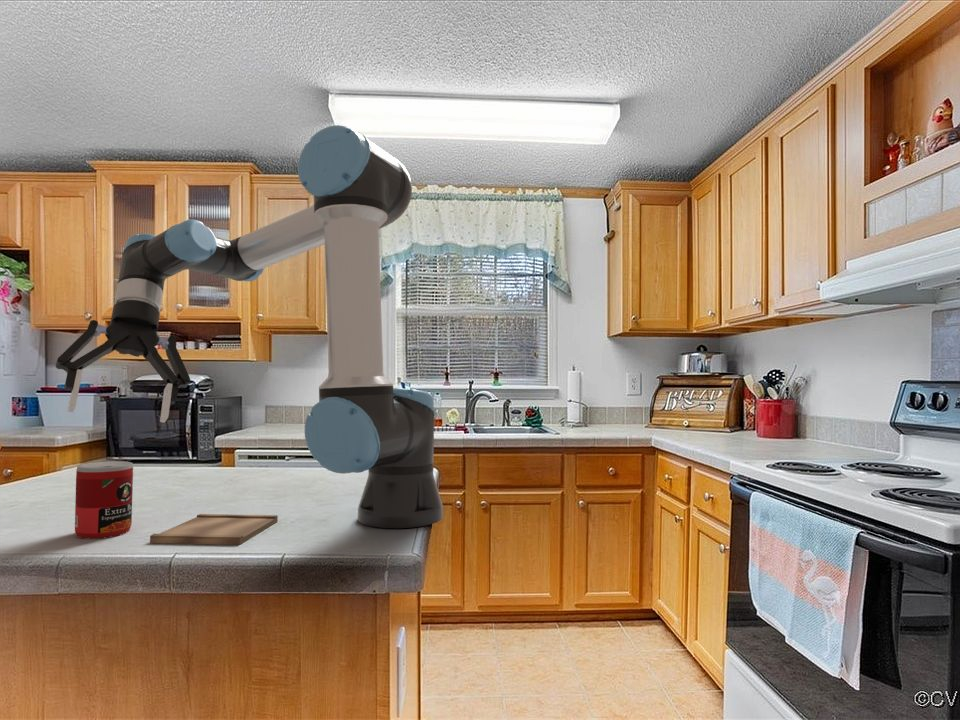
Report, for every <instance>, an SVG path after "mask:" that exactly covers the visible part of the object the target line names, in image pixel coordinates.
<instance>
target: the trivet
mask: <svg viewBox="0 0 960 720" xmlns="http://www.w3.org/2000/svg"><path fill="white" fill-rule="evenodd" d="M278 517H279V516H278V515H277V514H276V515H275V514H272V515H271V514H270V515H269V514H267V515H266V514H224V513H223V514H222V513H221V514H219V513H217V514H215V513H198V514H197V515H196V517H194V518H191V519H189V520H187V521H185V522H182V523H180V524H178V525H176V526H173V527H171V528H169V529H166V530H164V531H162V532H160V533H153V534H151V535H150V536H149V543H150V544H184V545H187V544H189V545H191V544H192V543H193V544H192V545H194V544H195V545H227V544H230V545H231V544H232V545H231V546H234V545H239V546H240V545H242V544H243V542H244V543H245V542H247V541H249V540H250V539H252V538H253V537H256V536H257V535H258V534H260V533H262V532H263V531H265V530H266V529H268V528H270V527H271V526H273V525H275V524H276V523H278V519H279V518H278ZM269 526H270V527H269ZM264 529H265V530H264ZM261 531H262V532H261ZM256 534H257V535H256Z"/></svg>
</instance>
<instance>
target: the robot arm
mask: <svg viewBox="0 0 960 720" xmlns="http://www.w3.org/2000/svg"><path fill="white" fill-rule="evenodd" d="M297 175H298V179H299V182H300V184H301V185H302V186H303V187H304V189H305V191H306V192H307V193H308V194H309V195H310V194H311V196H313V205H311V206H310V205H309V207H306V208H303V209H302V210H299V211H297V212H294V213H292V214H290V215H288V216H285V217H283V218H281V219H279V220H276V221H274V222H272V223H269V224H266V225H265V226H262V227H260V228H258V229H255V230H254V231H253V230H252V231H251V232H249V233H246V234H243V235H241V236H239V237H236V238H234V239H231V240H227V239H224V238H221V237H217V236H215V234H214V232H213V231H212V230H211V228H210V227H208V226H206V225H204V223H203V222H202V221H200V220H197V219H187V220H184V221H182V222H180V223H177V224H174V225H172V226H170V227H169V228H168V229H166V230H164V231H163V232H161V233H159V234H157V235H155V234H150V233H141V234H138V233H136V234H133V235H131V236H129V238H128V239H127V240H126V243H125V246H124V248H123V251H122V254H121V263H120V269H119V275H118V281H117V287H116V291H115V297H114V302H113V303H114V305H113V307H112V312H111V318H110V323H109V325H108V326H105V325H103V324H99V322H98V321H97V320H95V319H92V320H90V321H89V323H88V327H87V329H86V330H85V331H84V332H83V333H82V334H81V335H80V336H79V337H78V338H77V339H76V340H75V341H74V342H73V343H72V344H71V345H69V347H68V348H67V349H65V351H63V352H62V353H61V354H60V356H58V357H57V359H56V362H55V368H56V369H57V370H63V371H65V372H66V378H65V382H64V391H69V392H71V393H70V399H69V404H68V407H67V412H69V413H74V410H75V408H76V407H77V406H76V405H77V401H78V395H79V391H80V386H81V381H82V375H83V372H84V369H86V368H87V367H89V366H90V365H92V364H93V363H95V362H96V361H98V360H100V359H101V358H103V357H105V356H106V355H110V354H111V353H113V352H114V351H116V352H118V353H119V354H120V355H131V356H132V357H138V358H139V356H142V357H143V358H144V359H145V360H146V361H147V362H148V363H150V365H151V366H152V367H153V369H154V370H155V372H156V373H157V374H158V375H159V376H160V377H161V379H162V380H163V382H165V384H166V386H165V387H164V389H163V395H162V404H161V411H160V417H159V418H160V419H159V422H160V423H166V421H167V420H168V419H169V415H170V407H171V405H175V404H176V402H177V400H178V394H179V389H180V388H182V389H185V388H187V386H188V385H189V384H190V383H191V376H190V374H189V373H188V370H187V369H186V366H185V364H184V362H183V359H182V357H181V355H180V352H179V350H178V347H177V338H176V336H174V335H169V336H168V337H163V336H159V334H158V329H159V323H160V312H161V309H162V300H163V295H164V287H165V281H166V279H169V278H170V277H172V276H175V275H176V274H179V273H181V272H183V271H185V270H186V271H187V270H189V271H193V272H197V273H198V272H199V273H202V274H208V275H213V276H217V277H223V278H227V279H230V280H233V281H238V282H253V281H256V280H257V279H259V277H260V276H261V275H262V274H263V272H264V270H265V268H268V267H270V266H271V267H272V266H273V265H275V264H278V263H280V262H283V261H286V260H288V259H290V258H293V257H296V256H298V255H301V254H304V253H306V252H309V251H312V250H313V249H316V248H319V247H321V246H324V259H325V260H324V261H325V264H324V265H325V289H326V291H325V294H326V297H325V298H326V324H327V325H326V331H327V336H326V337H327V360H328V361H327V364H328V365H327V366H328V367H327V368H328V374H327V377H326V379H324V381H322V383H321V384H320V385H319V386H318V402H317V403H316V404H314V405H313V406H312V407H311V409H310V412H308V414H307V415H306V418H305V423H304V439H305V443H306V446H307V448H308V450H309V452H310V454H311V455H312V457H313V459H314V460H315V461H317V462H318V463H319V464H320V466H321V467H323V468H324V469H326V470H327V471H330V472H333V473H336V474H343V475H344V474H353V473H364V472H365V471H368V474H367V475H368V476H367V479H366V482H365V486H364V488H363V491H362V495H361V498H360V501H359V504H358V506H357V520H358V522H359V523H360V524H363V525H365V526H369V527H374V528H382V529H407V528H409V529H410V528H411V529H412V528H418V527H425V526H430V525H433V524H436V523H438V522H440V521H441V520H443V516H444V514H443V513H444V508H443V507H444V505H443V502H442V499H441V496H440V495H441V494H440V493H439V489H438V486H437V483H436V479H435V475H434V452H435V451H434V450H435V449H434V445H435V444H434V442H435V440H434V439H435V416H436V410H435V406H434V398H433V396H432V394H430V393H429V392H428V391H424V390H420V389H419V390H418V389H409V388H401V387H394V383H392V382H391V380H390V379H388V378H387V376H385V374H384V357H383V356H384V355H383V354H384V353H383V349H384V348H383V328H382V327H383V325H382V324H383V323H382V320H383V319H382V295H381V294H382V293H381V292H382V291H381V290H382V289H381V268H380V267H381V264H380V261H381V260H380V234H379V233H380V231H379V230H381V229H383V228H385V227H387V226H390V224H392V223H394V222H395V221H397V220H398V219H399V218H401V216H402V215H403V214H404V213H405V212H406V210H407V209H408V206H409V205H410V203H411V199H412V195H413V185H412V180H411V177H410V174H409V172H408V170H407V169H406V167H405V165H404V164H403V163H401V161H400V160H398V159H397V158H396V157H394V156H393V155H392V154H389V153H388V152H387V151H385V150H384V149H382V148H381V147H379V146H378V145H377V144H376V143H374V142H372V141H371V140H369V138H367V137H366V135H364V134H363V133H361V132H359V131H356V130H354V129H353V128H351V127H348V126H345V125H339V124H337V125H336V124H335V125H330V126H327V127H324V128H322V129H320V130H319V131H317V132H316V133H315V134H313V136H311V137H310V139H309V141H308V142H307V143H305V145H304V146H303V148H302V151H301V153H300V155H299V159H298V164H297ZM101 334H104V336H105V337H106V339H107V340H105V342H104V343H102V344H101V345H99V346H97V347H96V348H93V349H92V350H90V351H89V352H87V353H84V354H83V355H82V356H81V357H79V358H76V356H77V355H78V354H79V353H81V351H83V350H84V348H86V346H87V345H88V344H89V343H90V342H91V341H92V339H93V338H97V337H99V336H100V335H101ZM157 345H160V346H161V348H162V350H165V354H166V356H167V359H168V361H169V364H170V366H171V368H170V366H169V365H168V364H167V362H166V361H165V360H164V358H163V357H162V356H161V355H160V354H159V351H158V348H157V347H156V346H157ZM75 358H76V359H75ZM73 359H75V360H73ZM72 360H73V361H72Z"/></svg>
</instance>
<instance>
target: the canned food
mask: <svg viewBox="0 0 960 720" xmlns="http://www.w3.org/2000/svg"><path fill="white" fill-rule="evenodd" d="M133 465H134V464H133V462H131V461H122V460H119V461H118V460H116V461H115V460H114V461H113V460H111V461H99V462H96V461H95V462H89V463H83V464H79V465H77V466H76V470H75V471H76V474H75V502H74V503H75V506H74V509H75V511H74V515H75V516H74V533H75V535H76V537H77V538H79V537H80V539H84V538H90V539H89V540H93V539H92V538H99V539H105V538H104V537H108V538H111V537H110V536H113V537H117V536H116V535H118V536H120V534H122V535H124V534H126V532H127V533H128V532H129V531H130V530H131V527H132V522H133V521H132V520H133V517H132V515H133V487H134V485H133V484H134V483H133V482H134V466H133ZM123 533H124V534H123Z"/></svg>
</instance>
